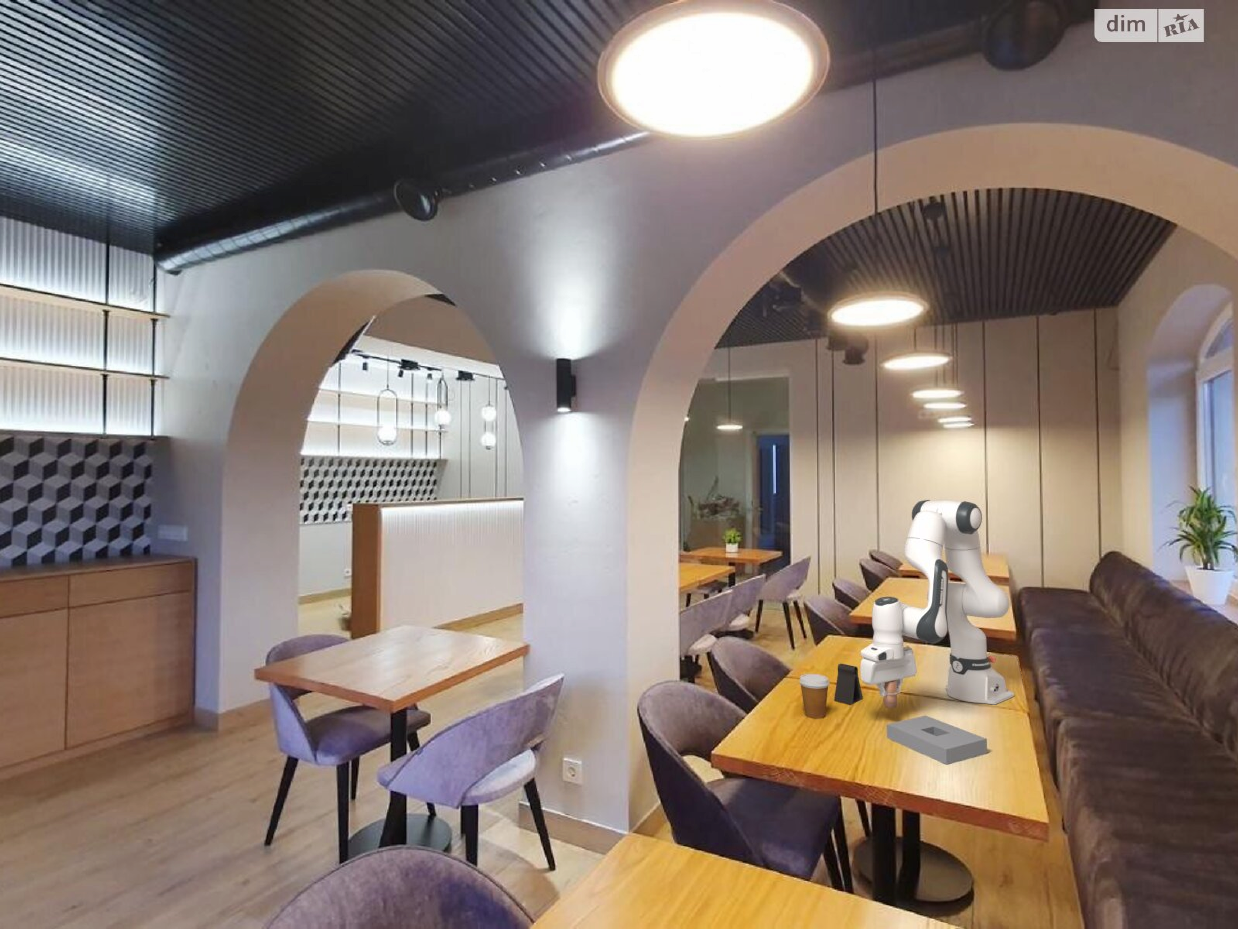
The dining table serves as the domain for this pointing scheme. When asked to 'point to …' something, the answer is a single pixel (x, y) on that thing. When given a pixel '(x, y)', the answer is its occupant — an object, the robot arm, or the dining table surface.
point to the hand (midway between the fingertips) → (890, 694)
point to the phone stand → (848, 685)
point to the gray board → (937, 739)
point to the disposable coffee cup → (814, 694)
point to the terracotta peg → (890, 694)
